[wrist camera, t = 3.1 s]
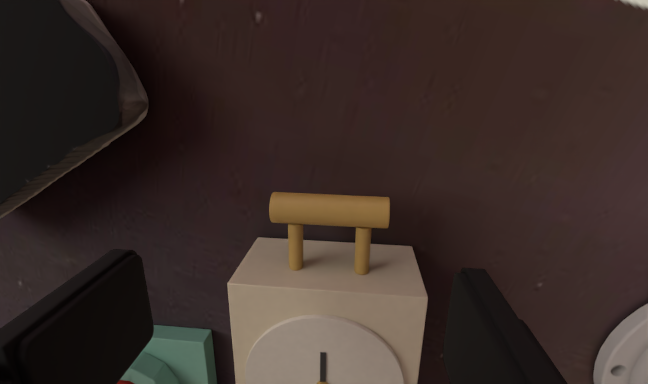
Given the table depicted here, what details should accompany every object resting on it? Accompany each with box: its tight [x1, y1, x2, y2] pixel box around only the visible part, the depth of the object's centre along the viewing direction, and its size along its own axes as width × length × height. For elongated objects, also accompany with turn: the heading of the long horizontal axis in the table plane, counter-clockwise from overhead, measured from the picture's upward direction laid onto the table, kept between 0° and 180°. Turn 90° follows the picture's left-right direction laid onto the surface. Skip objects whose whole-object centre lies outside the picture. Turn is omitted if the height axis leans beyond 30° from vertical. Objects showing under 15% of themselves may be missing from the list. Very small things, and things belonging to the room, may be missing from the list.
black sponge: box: [0, 0, 149, 219], centre depth 20 cm, size 16×8×4 cm, turn 120°
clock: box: [227, 192, 428, 384], centre depth 20 cm, size 10×16×6 cm, turn 179°
